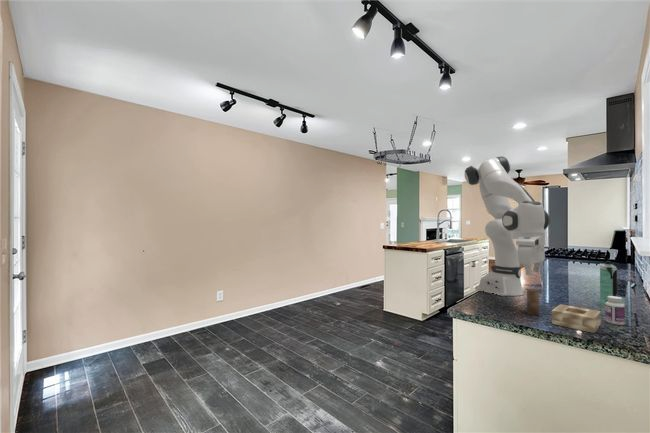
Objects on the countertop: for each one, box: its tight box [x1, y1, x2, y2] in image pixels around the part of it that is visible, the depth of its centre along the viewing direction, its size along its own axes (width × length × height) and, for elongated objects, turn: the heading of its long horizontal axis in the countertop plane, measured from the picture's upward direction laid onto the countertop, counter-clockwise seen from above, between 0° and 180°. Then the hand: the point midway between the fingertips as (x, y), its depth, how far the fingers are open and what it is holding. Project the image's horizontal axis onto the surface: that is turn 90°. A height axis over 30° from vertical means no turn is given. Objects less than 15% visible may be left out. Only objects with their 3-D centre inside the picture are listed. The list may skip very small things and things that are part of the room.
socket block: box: [551, 303, 602, 334], centre depth 111 cm, size 12×12×5 cm
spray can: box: [599, 260, 618, 307], centre depth 133 cm, size 6×6×20 cm
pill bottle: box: [604, 296, 626, 326], centre depth 112 cm, size 5×5×10 cm
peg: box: [526, 288, 540, 317], centre depth 123 cm, size 4×4×10 cm
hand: (532, 273), depth 122 cm, fingers open, 8 cm apart
